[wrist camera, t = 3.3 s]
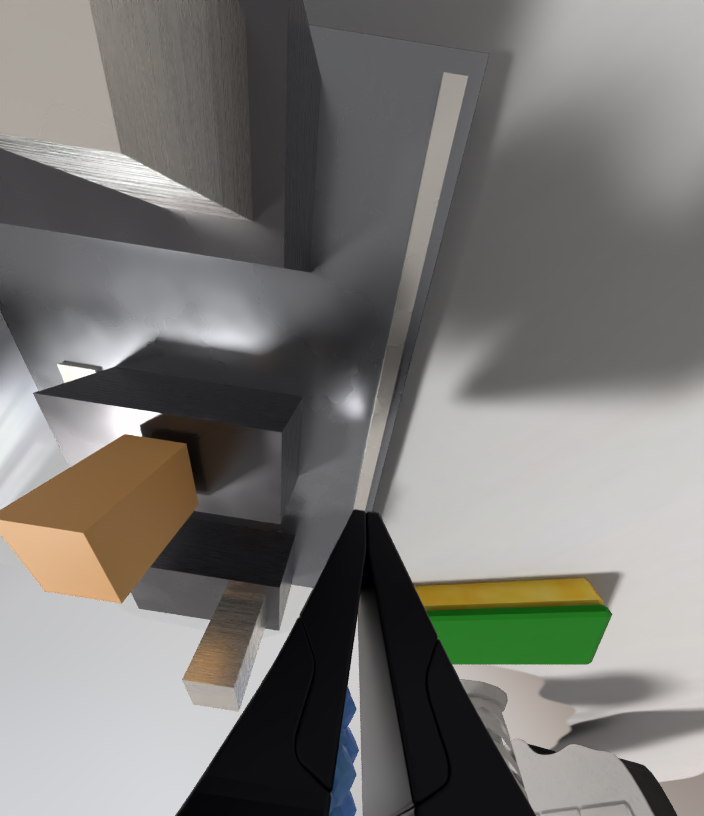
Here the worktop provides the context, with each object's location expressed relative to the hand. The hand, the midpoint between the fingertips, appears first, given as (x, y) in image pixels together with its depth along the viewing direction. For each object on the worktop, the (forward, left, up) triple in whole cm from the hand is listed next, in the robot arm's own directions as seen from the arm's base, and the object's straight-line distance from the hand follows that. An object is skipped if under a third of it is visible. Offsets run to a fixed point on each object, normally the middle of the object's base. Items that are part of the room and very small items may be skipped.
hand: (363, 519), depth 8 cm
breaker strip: (-7, 0, -5) cm, 9 cm away
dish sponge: (+11, -14, -6) cm, 19 cm away
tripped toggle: (-7, 0, -1) cm, 7 cm away
